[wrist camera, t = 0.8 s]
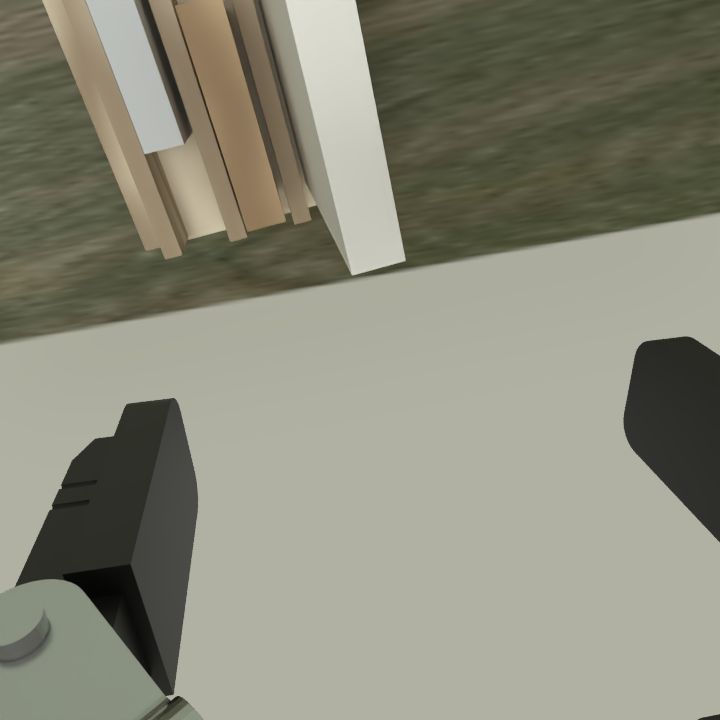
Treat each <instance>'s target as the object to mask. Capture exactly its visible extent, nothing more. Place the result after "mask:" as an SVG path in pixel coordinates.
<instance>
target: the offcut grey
mask: <svg viewBox="0 0 720 720" xmlns="http://www.w3.org/2000/svg"><path fill="white" fill-rule="evenodd" d="M86 3H87V5H88V8H89V11H90V13H91V16H92V18H93V21H94V24H95V26H96V29H97V32H98V34H99V37H100V39H101V42H102V45H103V47H104V50H105V52H106V55H107V58H108V60H109V63H110V65H111V68H112V71H113V73H114V76H115V79H116V81H117V84H118V86H119V89H120V92H121V94H122V97H123V99H124V102H125V105H126V107H127V110H128V112H129V115H130V118H131V120H132V123H133V125H134V128H135V131H136V133H137V136H138V139H139V141H140V144H141V146H142V149H143V152H144V154H148V153H152V152H156V151H159V150H163V149H167V148H171V147H175V146H179V145H183V144H185V142H186V141H187V139H188V138H189V137H190V135H191V134H192V132H193V130H192V127H191V124H190V121H189V118H188V115H187V112H186V110H185V107H184V104H183V101H182V98H181V95H180V92H179V89H178V86H177V83H176V80H175V77H174V74H173V71H172V68H171V65H170V62H169V59H168V56H167V53H166V51H165V48H164V45H163V42H162V39H161V36H160V33H159V30H158V27H157V24H156V21H155V18H154V15H153V12H152V9H151V6H150V3H149V0H86Z"/></svg>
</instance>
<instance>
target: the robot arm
mask: <svg viewBox="0 0 720 720" xmlns="http://www.w3.org/2000/svg"><path fill="white" fill-rule="evenodd" d="M624 430H625V433H626V437H627V440H628V442H629V444H630V446H631V448H632V449H633V450H634V451H635V453H636V454H637V455H638V456H639V457H640V458H641V459H642V460H643V461H644V462H645V463H646V464H647V465H648V466H649V467H650V469H651V470H652V471H653V472H654V473H655V474H656V475H657V476H658V477H659V478H660V479H661V480H662V481H663V482H664V484H665V485H666V486H668V488H669V489H670V490H671V491H672V492H673V493H674V494H675V495H676V496H677V497H678V498H679V499H680V501H682V503H683V504H684V505H685V506H686V507H687V508H688V509H689V510H690V511H691V512H692V513H693V514H694V515H695V516H696V518H697V519H698V520H699V521H700V522H701V523H702V524H703V525H704V526H705V527H706V528H707V529H708V530H709V531H710V532H711V533H712V535H713V536H714V537H715V538H716V539H717V540H718V541H719V542H720V356H719V355H718V354H716V353H715V352H713V351H712V350H710V349H709V348H707V347H706V346H704V345H703V344H701V343H699V342H698V341H697V340H695V339H693V338H691V337H677V338H669V339H661V340H652V341H646V342H643V343H642V344H641V345H640V346H639V347H638V349H637V351H636V354H635V359H634V364H633V369H632V375H631V380H630V385H629V391H628V396H627V401H626V407H625V412H624ZM61 486H62V489H59V491H58V493H57V495H56V498H55V500H54V502H53V504H52V507H53V509H52V510H50V511H49V513H48V515H47V518H46V520H45V522H44V524H43V526H42V528H41V531H40V533H39V535H38V537H37V539H36V542H35V544H34V546H33V548H32V550H31V553H30V555H29V557H28V559H27V562H26V564H25V566H24V568H23V570H22V572H21V575H20V577H19V579H18V581H17V583H16V586H15V587H14V588H12V589H9V590H7V591H5V592H4V593H1V594H0V720H203V718H202V717H201V716H200V715H199V714H198V712H197V711H196V710H195V709H194V708H193V707H192V706H191V705H190V704H189V703H188V702H187V701H186V700H185V699H183V698H182V697H180V696H177V697H175V698H174V699H173V700H171V701H170V700H169V699H168V698H167V697H166V696H168V695H173V694H174V687H175V680H176V672H177V664H178V657H179V649H180V641H181V634H182V625H183V618H184V611H185V603H186V596H187V588H188V580H189V572H190V565H191V557H192V550H193V542H194V535H195V527H196V519H197V512H198V492H197V482H196V476H195V471H194V467H193V463H192V458H191V454H190V450H189V445H188V441H187V437H186V433H185V428H184V424H183V420H182V416H181V412H180V408H179V405H178V403H177V401H176V399H175V398H171V399H163V400H155V401H147V402H139V403H130V404H127V405H126V406H125V408H124V411H123V414H122V416H121V419H120V421H119V424H118V427H117V429H116V432H115V435H114V436H113V437H106V438H97V439H94V440H93V441H92V442H91V443H90V444H89V445H88V446H87V447H86V448H85V449H84V450H83V451H82V452H81V453H80V454H79V455H78V456H77V457H76V458H75V459H73V460H72V462H71V465H70V467H69V469H68V471H67V474H66V476H65V478H64V480H63V482H62V484H61ZM698 720H720V714H719V715H714V716H709V717H704V718H700V719H698Z"/></svg>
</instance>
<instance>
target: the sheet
mask: <svg viewBox="0 0 720 720" xmlns="http://www.w3.org/2000/svg"><path fill="white" fill-rule="evenodd" d="M258 2H259V6H260V10H261V14H262V17H263V21H264V25H265V29H266V33H267V37H268V40H269V44H270V48H271V52H272V56H273V59H274V63H275V67H276V71H277V75H278V79H279V82H280V86H281V90H282V94H283V98H284V102H285V105H286V109H287V113H288V117H289V121H290V124H291V128H292V132H293V136H294V140H295V144H296V147H297V151H298V155H299V159H300V163H301V167H302V170H303V174H304V178H305V182H306V184H307V186H308V188H309V190H310V192H311V194H312V196H313V198H314V200H315V202H316V204H317V206H318V208H319V210H320V212H321V214H322V216H323V218H324V220H325V222H326V224H327V226H328V228H329V230H330V232H331V234H332V236H333V238H334V240H335V242H336V244H337V246H338V248H339V250H340V252H341V254H342V256H343V258H344V260H345V262H346V264H347V266H348V268H349V270H350V272H351V274H352V275H356V274H360V273H363V272H367V271H370V270H374V269H378V268H381V267H385V266H389V265H392V264H396V263H399V262H403V261H406V260H405V255H404V250H403V245H402V239H401V234H400V229H399V224H398V219H397V214H396V208H395V203H394V198H393V193H392V188H391V183H390V177H389V172H388V167H387V162H386V157H385V151H384V146H383V141H382V136H381V131H380V126H379V120H378V115H377V110H376V105H375V100H374V94H373V89H372V84H371V79H370V74H369V69H368V63H367V58H366V53H365V48H364V43H363V37H362V32H361V27H360V22H359V17H358V12H357V6H356V1H355V0H258Z"/></svg>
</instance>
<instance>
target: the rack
mask: <svg viewBox="0 0 720 720" xmlns="http://www.w3.org/2000/svg"><path fill="white" fill-rule="evenodd" d="M42 1H43V3H44V6H45V8H46V11H47V13H48V15H49V18H50V20H51V23H52V25H53V28H54V30H55V32H56V35H57V37H58V40H59V42H60V44H61V47H62V49H63V52H64V54H65V57H66V59H67V61H68V64H69V66H70V69H71V71H72V73H73V76H74V78H75V81H76V83H77V86H78V88H79V90H80V93H81V95H82V98H83V100H84V102H85V105H86V107H87V110H88V112H89V115H90V117H91V119H92V122H93V124H94V127H95V129H96V131H97V134H98V136H99V139H100V141H101V144H102V146H103V148H104V151H105V153H106V156H107V158H108V160H109V163H110V165H111V168H112V170H113V173H114V175H115V177H116V180H117V182H118V185H119V187H120V189H121V192H122V194H123V197H124V199H125V202H126V204H127V206H128V209H129V211H130V214H131V216H132V218H133V221H134V223H135V226H136V228H137V231H138V233H139V235H140V238H141V240H142V243H143V245H144V247H145V250H146V251H149V250H152V249H156V248H160V247H161V250H162V252H163V255H164V257H165V260H166V259H169V258H173V257H177V256H180V255H183V252H184V249H185V246H186V242H187V240H189V239H193V238H197V237H201V236H204V235H208V234H212V233H216V232H219V231H223V230H226V231H227V233H228V236H229V239H230V242H232V241H236V240H240V239H243V238H247V229H246V225H245V222H244V219H243V216H242V213H241V210H240V207H239V204H238V201H237V197H236V194H235V191H234V188H233V185H232V182H231V179H230V176H229V173H228V169H227V166H226V163H225V160H224V157H223V154H222V151H221V148H220V145H219V141H218V138H217V135H216V132H215V129H214V126H213V123H212V120H211V117H210V113H209V110H208V107H207V104H206V101H205V98H204V95H203V92H202V89H201V85H200V82H199V79H198V76H197V73H196V70H195V67H194V64H193V61H192V57H191V54H190V51H189V48H188V45H187V42H186V39H185V36H184V33H183V29H182V26H181V23H180V20H179V17H178V14H177V11H176V8H175V5H179V4H183V3H187V2H191V1H195V0H149V3H150V6H151V9H152V12H153V15H154V18H155V21H156V24H157V27H158V30H159V33H160V36H161V39H162V42H163V45H164V48H165V51H166V53H167V56H168V59H169V62H170V65H171V68H172V71H173V74H174V77H175V80H176V83H177V86H178V89H179V92H180V95H181V98H182V101H183V104H184V107H185V110H186V112H187V115H188V118H189V121H190V124H191V127H192V130H193V132H192V134H191V135H190V137H189V138H188V139H187V141H186V142H185V144H183V145H179V146H175V147H171V148H167V149H163V150H159V151H156V152H152V153H148V154H144V152H143V149H142V146H141V144H140V141H139V139H138V136H137V133H136V131H135V128H134V125H133V123H132V120H131V118H130V115H129V112H128V110H127V107H126V105H125V102H124V99H123V97H122V94H121V92H120V89H119V86H118V84H117V81H116V79H115V76H114V73H113V71H112V68H111V65H110V63H109V60H108V58H107V55H106V52H105V50H104V47H103V45H102V42H101V39H100V37H99V34H98V32H97V29H96V26H95V24H94V21H93V18H92V16H91V13H90V11H89V8H88V5H87V3H86V0H42ZM223 2H224V4H225V7H226V10H227V14H228V17H229V21H230V24H231V28H232V31H233V35H234V38H235V42H236V45H237V49H238V52H239V56H240V59H241V63H242V66H243V70H244V73H245V77H246V80H247V84H248V87H249V91H250V94H251V98H252V101H253V105H254V108H255V112H256V115H257V119H258V122H259V126H260V129H261V133H262V136H263V140H264V143H265V147H266V150H267V154H268V157H269V161H270V164H271V168H272V171H273V175H274V178H275V182H276V185H277V189H278V192H279V196H280V200H281V204H282V208H283V212H284V214H286V213H290V212H291V214H292V218H293V221H294V224H299V223H303V222H306V221H310V220H311V217H310V213H309V209H308V208H309V207H312V206H316V205H317V204H316V202H315V200H314V198H313V196H312V194H311V192H310V190H309V188H308V186H307V184H306V182H305V178H304V174H303V170H302V167H301V163H300V159H299V155H298V151H297V147H296V144H295V140H294V136H293V132H292V128H291V124H290V121H289V117H288V113H287V109H286V105H285V102H284V98H283V94H282V90H281V86H280V82H279V79H278V75H277V71H276V67H275V63H274V59H273V56H272V52H271V48H270V44H269V40H268V37H267V33H266V29H265V25H264V21H263V17H262V14H261V10H260V6H259V2H258V0H223Z"/></svg>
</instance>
